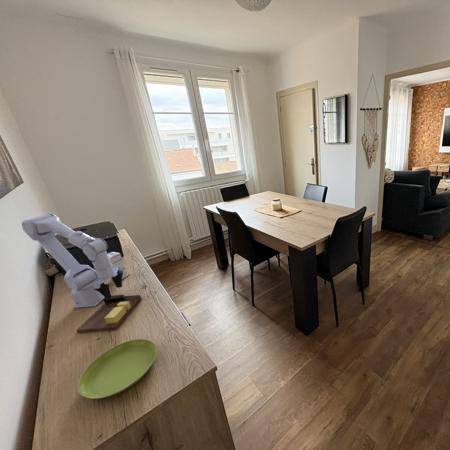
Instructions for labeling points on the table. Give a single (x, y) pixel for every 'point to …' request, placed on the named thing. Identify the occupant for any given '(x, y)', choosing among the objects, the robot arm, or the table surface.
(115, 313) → the butter block
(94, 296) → the robot arm
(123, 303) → the butter slice
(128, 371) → the saucer
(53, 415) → the table surface
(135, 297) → the knife
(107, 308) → the cutting board
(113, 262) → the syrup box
